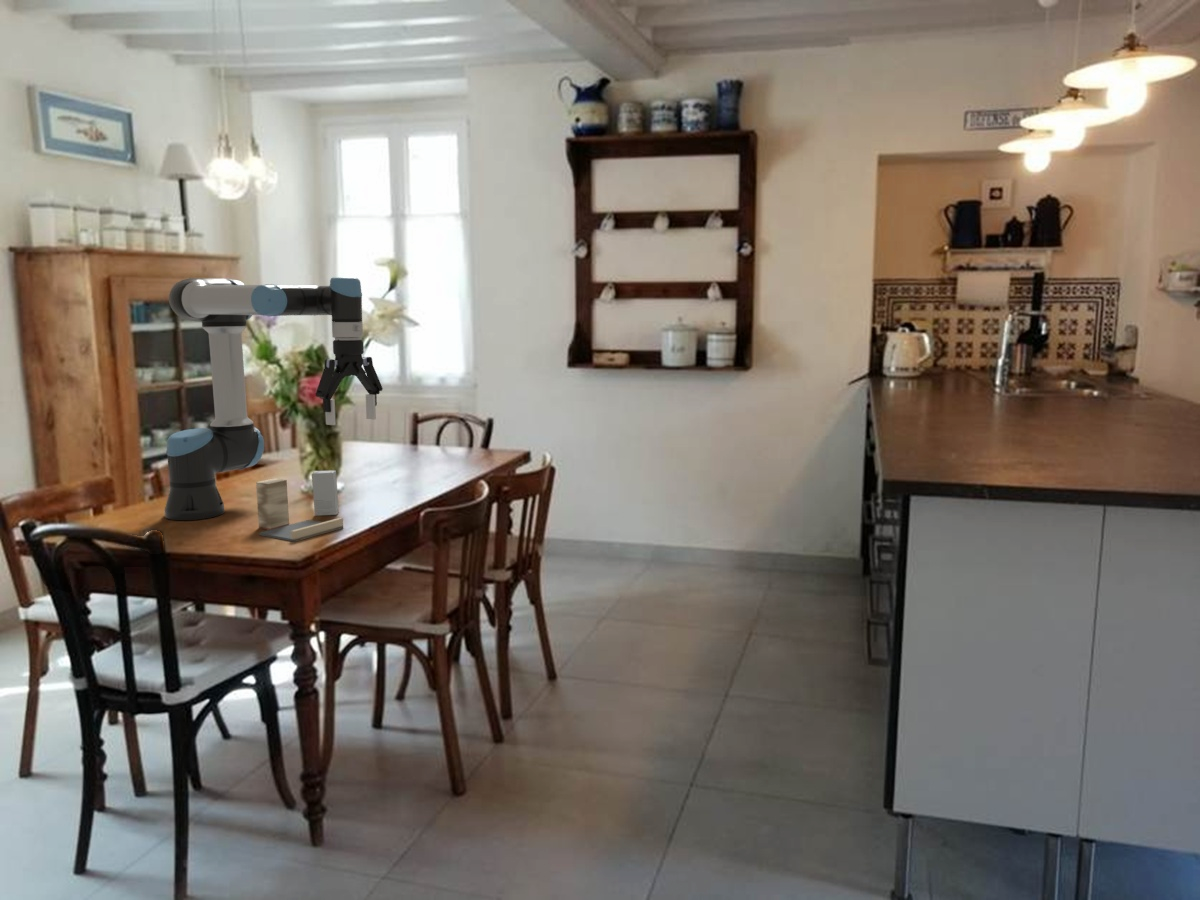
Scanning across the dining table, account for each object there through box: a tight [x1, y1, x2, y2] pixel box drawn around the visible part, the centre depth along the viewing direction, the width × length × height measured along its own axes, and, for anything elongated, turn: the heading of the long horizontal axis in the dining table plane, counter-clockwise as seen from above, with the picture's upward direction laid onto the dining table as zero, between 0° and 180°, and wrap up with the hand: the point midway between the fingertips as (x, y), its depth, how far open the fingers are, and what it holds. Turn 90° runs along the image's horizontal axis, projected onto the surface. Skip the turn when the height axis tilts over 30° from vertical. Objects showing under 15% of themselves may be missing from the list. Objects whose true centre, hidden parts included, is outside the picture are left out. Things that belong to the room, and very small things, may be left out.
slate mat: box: [258, 517, 344, 543], centre depth 234 cm, size 13×16×3 cm
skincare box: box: [311, 470, 340, 516], centre depth 252 cm, size 6×4×12 cm
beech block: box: [256, 478, 290, 531], centre depth 238 cm, size 4×6×12 cm
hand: (351, 421), depth 235 cm, fingers open, 13 cm apart
